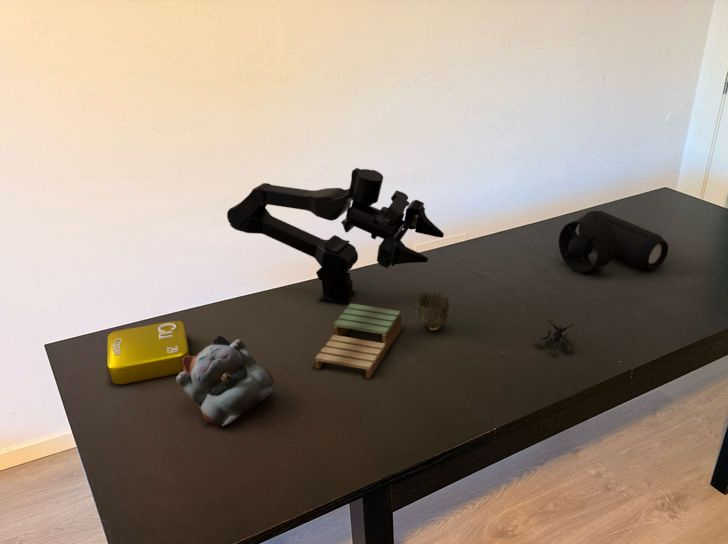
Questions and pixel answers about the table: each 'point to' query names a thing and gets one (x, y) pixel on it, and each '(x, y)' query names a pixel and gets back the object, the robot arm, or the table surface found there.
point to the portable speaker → (632, 242)
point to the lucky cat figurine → (224, 380)
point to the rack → (356, 349)
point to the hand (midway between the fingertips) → (435, 247)
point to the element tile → (146, 352)
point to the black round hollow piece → (587, 243)
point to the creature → (557, 337)
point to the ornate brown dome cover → (433, 310)
